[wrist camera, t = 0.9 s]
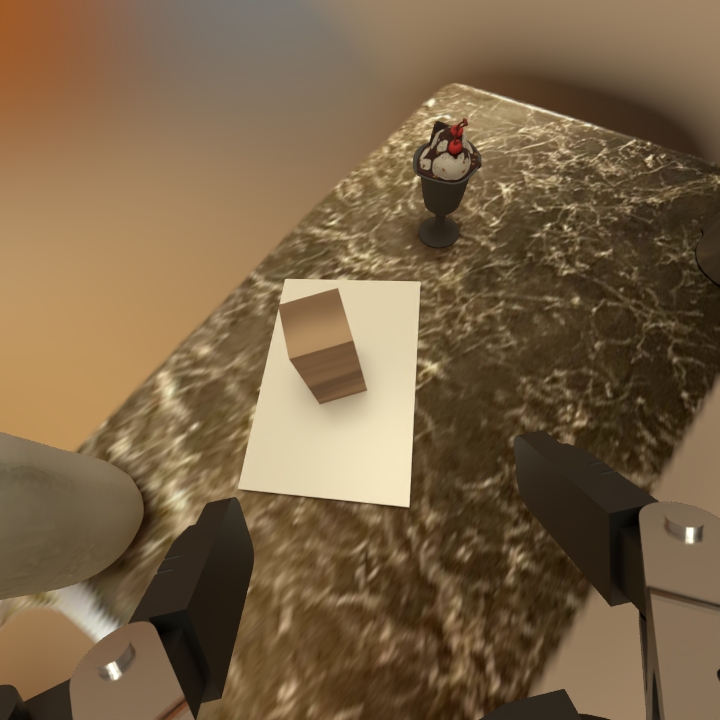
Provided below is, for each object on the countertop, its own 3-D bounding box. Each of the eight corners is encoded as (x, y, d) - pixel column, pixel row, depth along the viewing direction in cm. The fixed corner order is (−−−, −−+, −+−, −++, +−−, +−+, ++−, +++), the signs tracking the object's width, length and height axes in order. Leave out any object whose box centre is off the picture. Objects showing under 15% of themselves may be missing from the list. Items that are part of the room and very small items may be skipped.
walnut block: (367, 390, 38) (353, 340, 28) (319, 404, 38) (288, 358, 28) (354, 348, 40) (337, 287, 30) (309, 361, 40) (278, 305, 30)
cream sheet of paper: (287, 283, 46) (285, 279, 45) (420, 285, 43) (420, 281, 43) (241, 489, 36) (238, 488, 35) (409, 507, 34) (409, 507, 33)
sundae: (454, 260, 44) (475, 141, 31) (402, 243, 46) (401, 124, 33) (475, 221, 46) (504, 93, 33) (425, 206, 48) (432, 79, 35)
